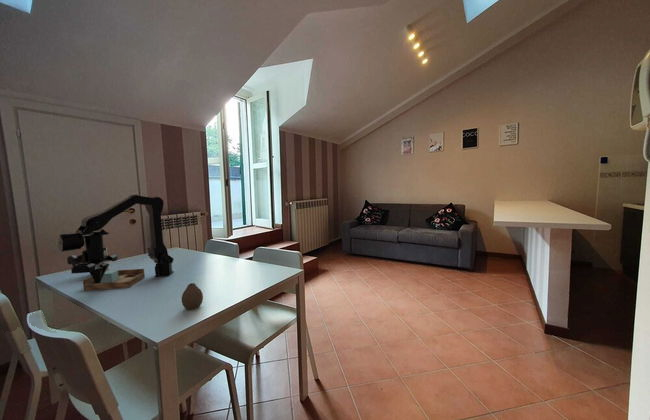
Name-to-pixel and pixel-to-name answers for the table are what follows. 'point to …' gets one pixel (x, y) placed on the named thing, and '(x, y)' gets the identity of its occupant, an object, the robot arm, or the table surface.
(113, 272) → the block
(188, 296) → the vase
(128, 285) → the box
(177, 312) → the table surface
